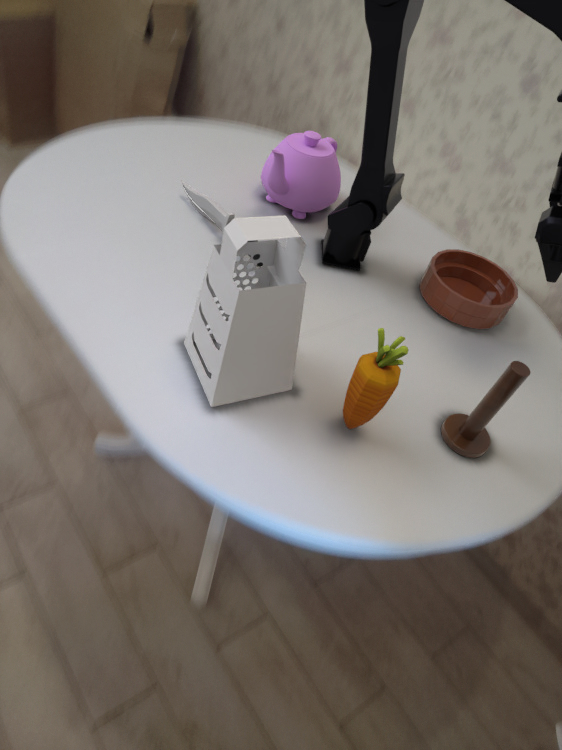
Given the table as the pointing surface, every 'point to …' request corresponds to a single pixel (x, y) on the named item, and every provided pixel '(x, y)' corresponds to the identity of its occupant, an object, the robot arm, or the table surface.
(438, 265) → the bowl
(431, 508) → the table surface
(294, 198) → the teapot
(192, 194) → the knife
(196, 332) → the grater
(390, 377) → the carrot
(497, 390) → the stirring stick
